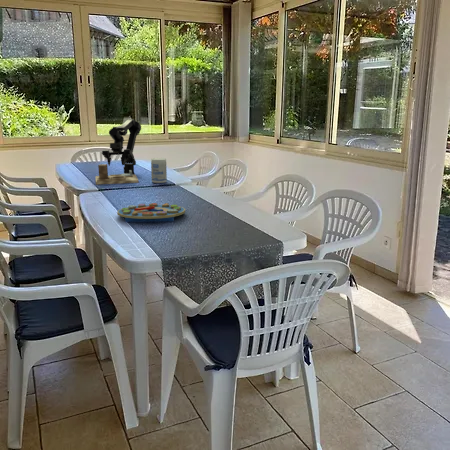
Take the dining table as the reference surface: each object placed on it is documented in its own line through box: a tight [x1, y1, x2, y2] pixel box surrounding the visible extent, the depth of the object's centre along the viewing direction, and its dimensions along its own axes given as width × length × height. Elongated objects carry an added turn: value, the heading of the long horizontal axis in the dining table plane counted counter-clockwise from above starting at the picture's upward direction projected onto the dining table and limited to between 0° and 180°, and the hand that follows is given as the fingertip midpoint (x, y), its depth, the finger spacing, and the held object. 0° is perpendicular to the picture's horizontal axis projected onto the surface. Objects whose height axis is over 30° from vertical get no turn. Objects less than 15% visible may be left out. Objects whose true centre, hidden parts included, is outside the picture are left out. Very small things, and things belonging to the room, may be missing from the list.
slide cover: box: [120, 170, 134, 176], centre depth 292 cm, size 7×7×3 cm
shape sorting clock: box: [116, 202, 186, 223], centre depth 201 cm, size 31×30×6 cm
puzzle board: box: [95, 173, 139, 186], centre depth 285 cm, size 26×22×3 cm
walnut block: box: [97, 163, 109, 179], centre depth 277 cm, size 4×4×10 cm
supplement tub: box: [150, 157, 168, 184], centre depth 279 cm, size 10×10×15 cm
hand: (115, 165), depth 283 cm, fingers open, 9 cm apart
